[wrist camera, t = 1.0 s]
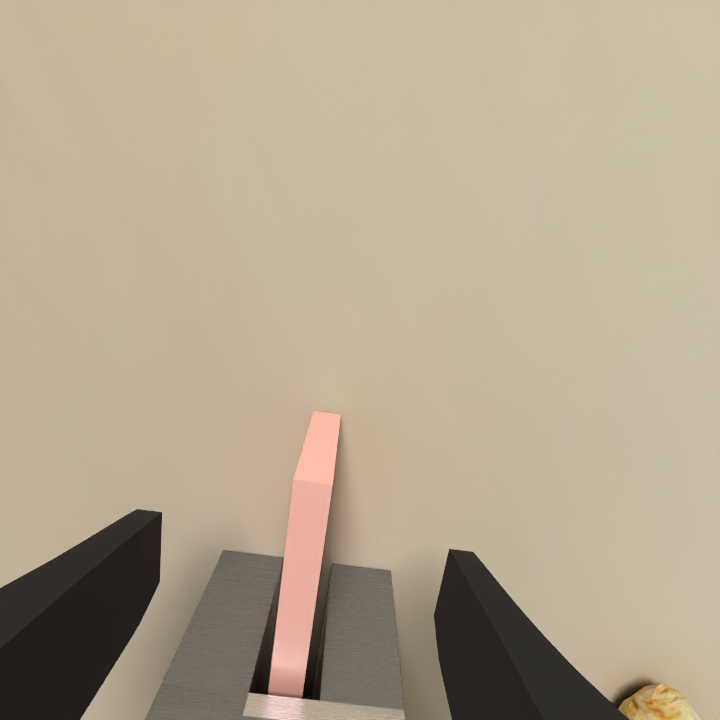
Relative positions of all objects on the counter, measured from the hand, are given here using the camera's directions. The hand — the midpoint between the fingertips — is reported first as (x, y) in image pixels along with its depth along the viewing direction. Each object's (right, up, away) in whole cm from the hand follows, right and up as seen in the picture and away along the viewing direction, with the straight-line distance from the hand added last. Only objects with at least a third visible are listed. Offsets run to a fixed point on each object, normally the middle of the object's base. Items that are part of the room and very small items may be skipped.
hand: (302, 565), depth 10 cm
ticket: (-1, -3, +7) cm, 7 cm away
